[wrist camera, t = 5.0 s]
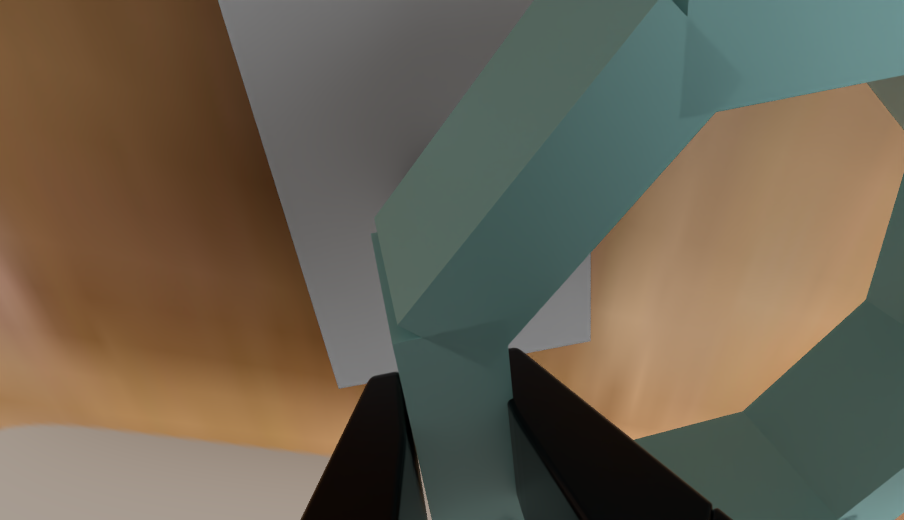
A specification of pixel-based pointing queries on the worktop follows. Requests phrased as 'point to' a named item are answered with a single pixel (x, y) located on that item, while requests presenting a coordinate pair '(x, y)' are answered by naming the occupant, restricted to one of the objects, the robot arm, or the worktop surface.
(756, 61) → the teal ring
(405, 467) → the robot arm
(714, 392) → the worktop surface
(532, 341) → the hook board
